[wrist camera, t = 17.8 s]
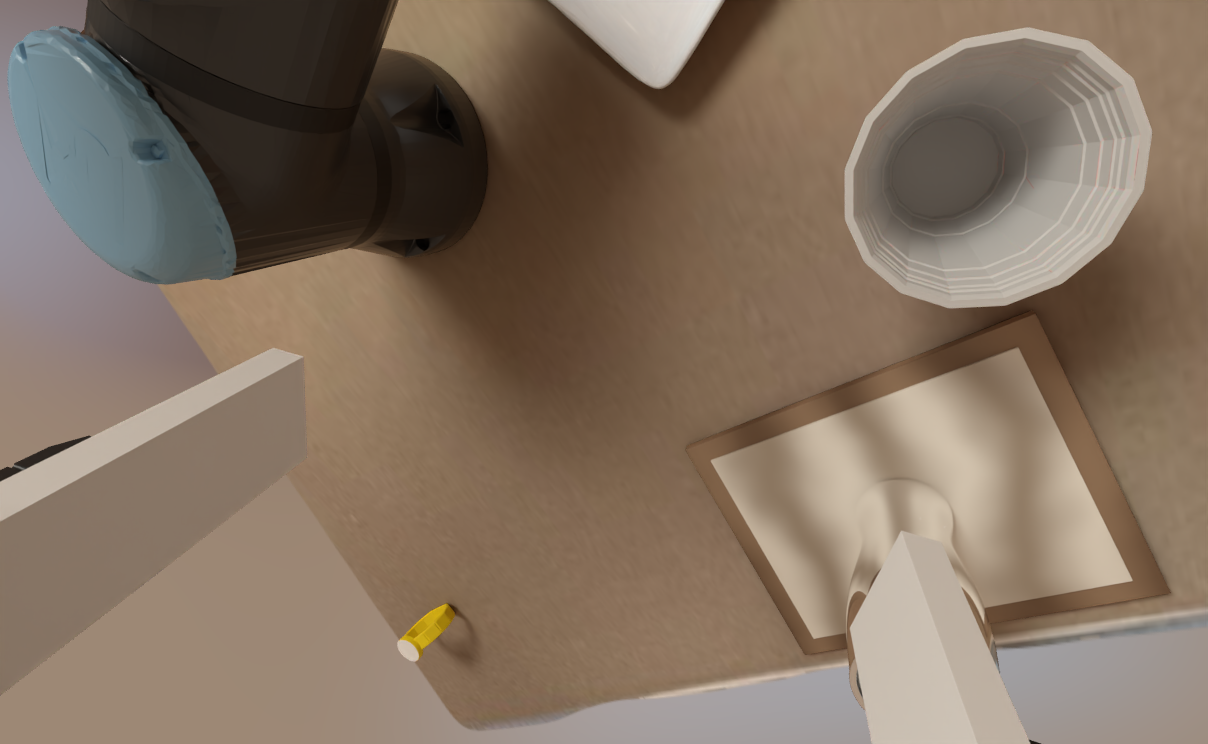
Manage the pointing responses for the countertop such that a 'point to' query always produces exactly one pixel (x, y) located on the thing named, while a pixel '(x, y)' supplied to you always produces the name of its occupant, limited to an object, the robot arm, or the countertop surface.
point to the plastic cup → (997, 168)
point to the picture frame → (935, 483)
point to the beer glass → (879, 528)
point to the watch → (425, 632)
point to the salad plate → (644, 32)
